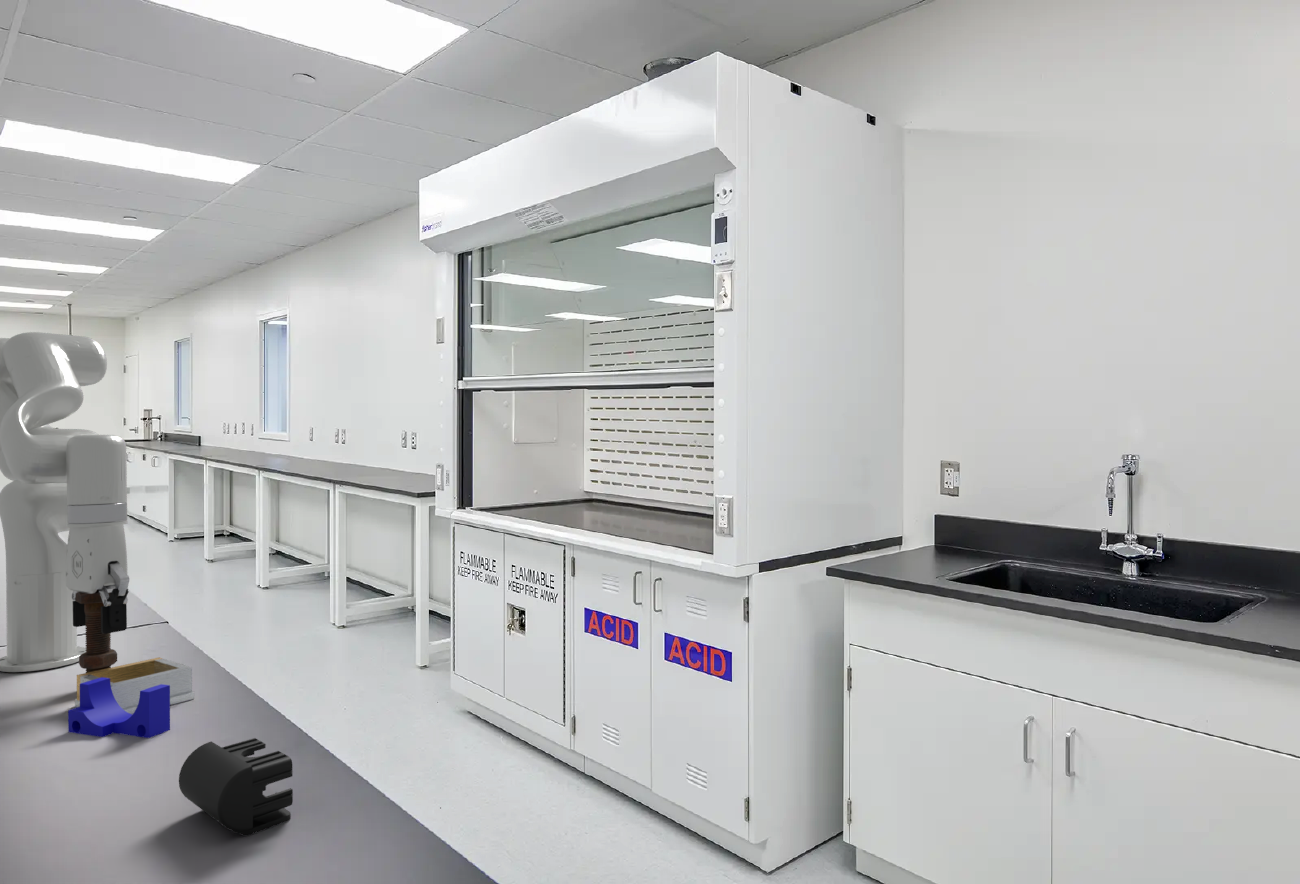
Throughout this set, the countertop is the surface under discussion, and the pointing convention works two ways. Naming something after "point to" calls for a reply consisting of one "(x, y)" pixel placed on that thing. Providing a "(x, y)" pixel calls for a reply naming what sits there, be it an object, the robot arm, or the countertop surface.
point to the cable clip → (119, 712)
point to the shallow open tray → (143, 681)
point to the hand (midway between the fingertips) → (99, 628)
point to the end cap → (238, 785)
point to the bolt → (95, 635)
